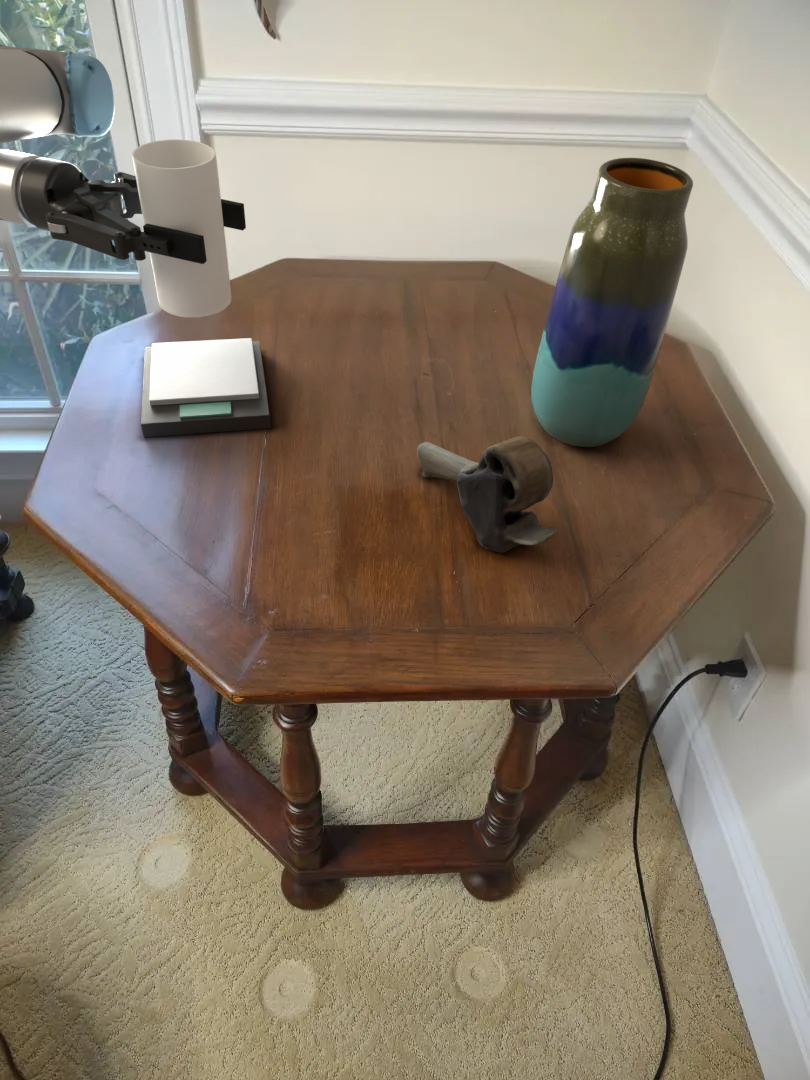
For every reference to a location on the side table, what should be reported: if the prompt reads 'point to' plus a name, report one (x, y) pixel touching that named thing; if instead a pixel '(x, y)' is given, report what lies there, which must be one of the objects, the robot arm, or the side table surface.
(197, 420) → the scale
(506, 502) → the grey two-tone handled device
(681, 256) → the vase
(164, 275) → the cup
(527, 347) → the side table surface
